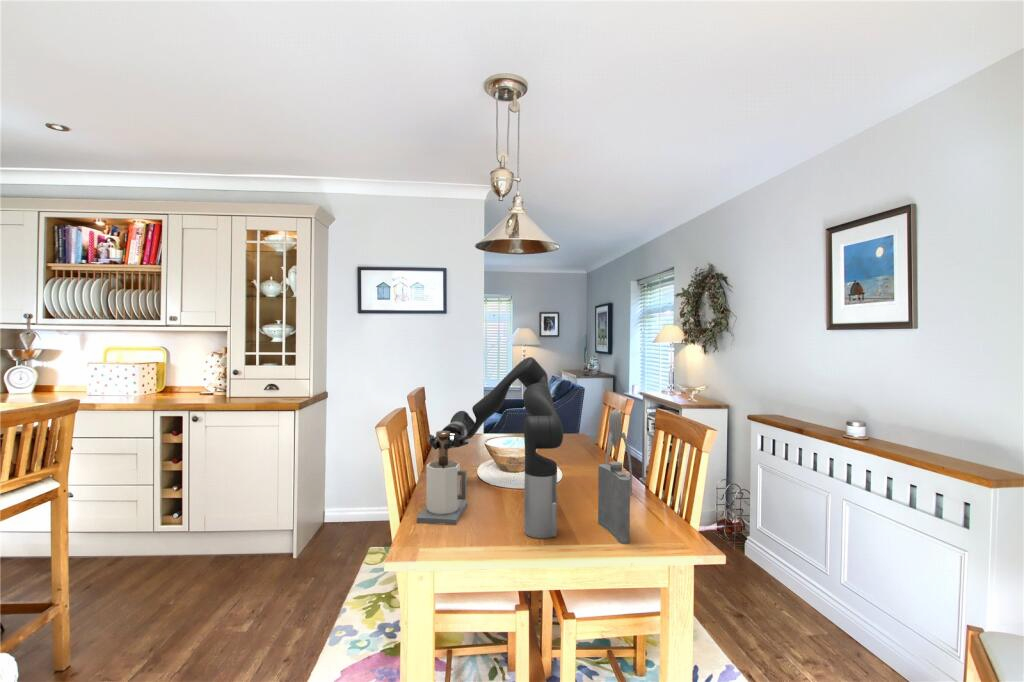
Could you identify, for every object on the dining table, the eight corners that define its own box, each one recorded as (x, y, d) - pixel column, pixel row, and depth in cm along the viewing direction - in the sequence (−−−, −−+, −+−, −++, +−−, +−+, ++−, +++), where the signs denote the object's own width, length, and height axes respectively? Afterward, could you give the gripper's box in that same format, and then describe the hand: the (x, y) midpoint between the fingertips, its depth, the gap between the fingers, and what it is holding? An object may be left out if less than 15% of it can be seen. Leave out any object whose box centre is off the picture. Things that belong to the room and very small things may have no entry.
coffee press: (471, 505, 164) (471, 458, 164) (460, 524, 148) (460, 472, 148) (431, 503, 166) (431, 457, 165) (416, 522, 150) (416, 471, 149)
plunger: (458, 500, 160) (458, 430, 160) (452, 509, 153) (452, 435, 152) (434, 499, 161) (434, 429, 161) (427, 508, 154) (427, 434, 153)
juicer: (632, 501, 169) (633, 412, 168) (605, 499, 171) (606, 411, 170) (631, 491, 179) (632, 407, 178) (605, 489, 181) (606, 406, 180)
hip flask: (596, 522, 151) (596, 456, 151) (608, 520, 152) (609, 455, 152) (620, 544, 136) (621, 471, 135) (634, 542, 137) (635, 470, 136)
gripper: (433, 422, 171) (418, 433, 154) (474, 423, 170) (463, 434, 153) (433, 444, 172) (418, 457, 154) (474, 445, 170) (463, 459, 153)
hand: (440, 446), depth 154 cm, fingers closed on plunger, 3 cm apart
